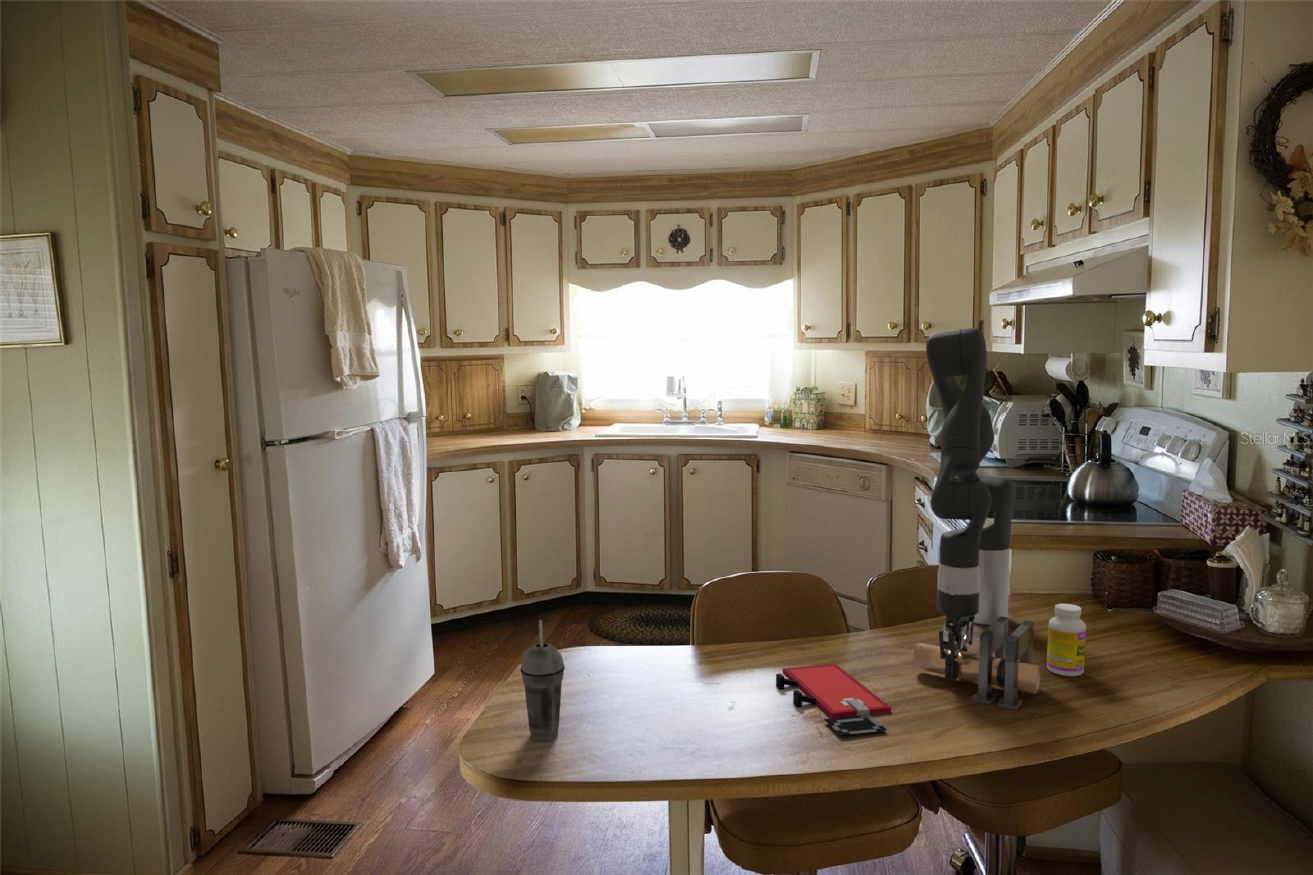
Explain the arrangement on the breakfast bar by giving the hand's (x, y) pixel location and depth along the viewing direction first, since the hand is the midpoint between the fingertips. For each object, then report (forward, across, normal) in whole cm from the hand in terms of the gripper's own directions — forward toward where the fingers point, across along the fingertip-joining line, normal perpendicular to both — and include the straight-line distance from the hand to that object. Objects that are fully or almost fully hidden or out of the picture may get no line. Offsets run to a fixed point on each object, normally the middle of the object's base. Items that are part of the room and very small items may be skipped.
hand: (955, 674), depth 171 cm
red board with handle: (+2, +22, -15) cm, 26 cm away
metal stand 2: (+1, 0, +11) cm, 11 cm away
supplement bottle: (+2, -17, +16) cm, 23 cm away
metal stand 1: (+1, 0, +7) cm, 7 cm away
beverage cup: (+1, +62, -48) cm, 79 cm away
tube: (0, 0, +4) cm, 4 cm away
